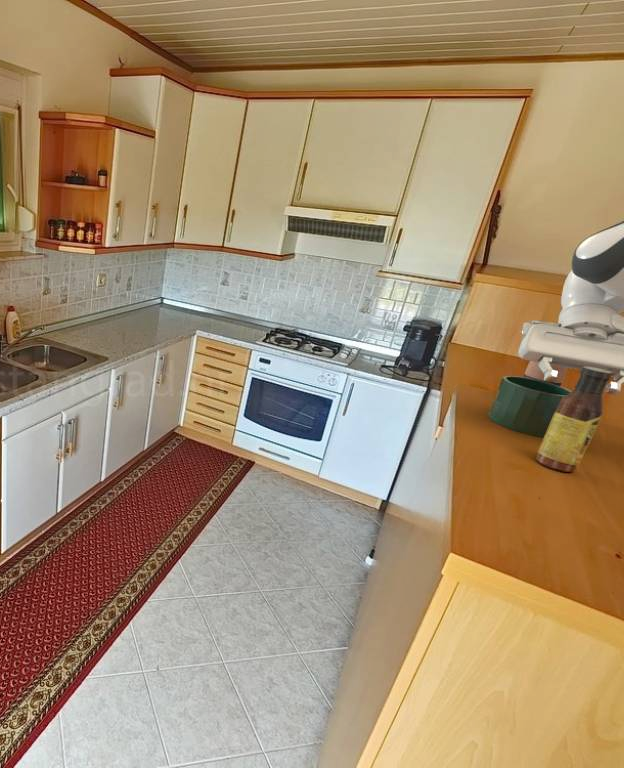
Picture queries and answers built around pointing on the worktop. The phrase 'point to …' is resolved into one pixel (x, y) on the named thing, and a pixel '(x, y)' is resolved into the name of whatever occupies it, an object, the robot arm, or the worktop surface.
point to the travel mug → (537, 374)
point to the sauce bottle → (574, 422)
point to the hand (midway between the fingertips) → (580, 386)
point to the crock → (526, 404)
